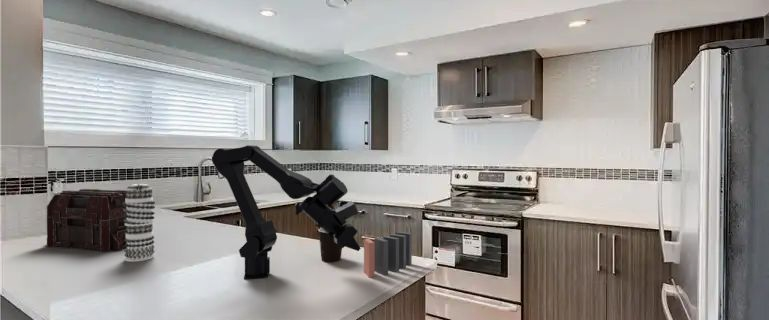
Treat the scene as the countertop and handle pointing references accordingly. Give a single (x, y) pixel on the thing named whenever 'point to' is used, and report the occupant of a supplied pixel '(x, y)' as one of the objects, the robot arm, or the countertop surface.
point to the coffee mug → (329, 248)
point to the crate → (87, 220)
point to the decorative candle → (139, 222)
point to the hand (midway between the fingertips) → (359, 249)
